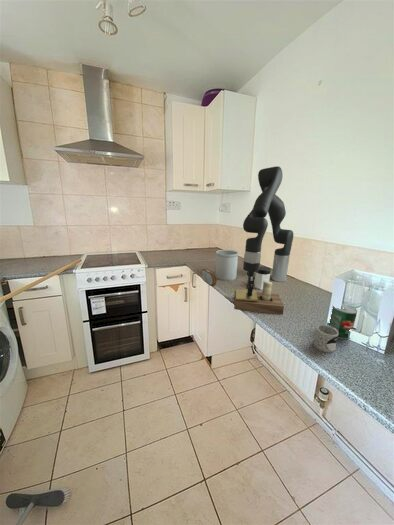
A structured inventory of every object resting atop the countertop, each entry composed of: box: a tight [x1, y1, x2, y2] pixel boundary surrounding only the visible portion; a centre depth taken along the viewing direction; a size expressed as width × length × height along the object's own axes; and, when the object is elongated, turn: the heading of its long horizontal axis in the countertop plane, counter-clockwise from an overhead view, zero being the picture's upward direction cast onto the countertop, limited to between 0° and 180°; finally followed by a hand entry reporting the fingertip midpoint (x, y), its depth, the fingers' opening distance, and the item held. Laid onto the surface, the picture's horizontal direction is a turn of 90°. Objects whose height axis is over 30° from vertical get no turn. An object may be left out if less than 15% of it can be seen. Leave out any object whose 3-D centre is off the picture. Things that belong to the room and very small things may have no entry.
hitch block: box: [233, 289, 285, 315], centre depth 107 cm, size 14×22×4 cm, turn 80°
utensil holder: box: [215, 249, 240, 282], centre depth 144 cm, size 15×15×18 cm
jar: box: [254, 265, 272, 291], centre depth 129 cm, size 9×8×12 cm
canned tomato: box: [328, 305, 358, 340], centre depth 84 cm, size 8×8×11 cm
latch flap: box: [235, 289, 258, 301], centre depth 107 cm, size 11×10×1 cm
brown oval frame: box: [201, 268, 218, 287], centre depth 133 cm, size 15×3×8 cm, turn 26°
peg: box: [261, 281, 273, 301], centre depth 105 cm, size 4×4×12 cm
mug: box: [313, 324, 339, 354], centre depth 77 cm, size 10×7×7 cm, turn 124°
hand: (248, 292), depth 106 cm, fingers open, 8 cm apart
